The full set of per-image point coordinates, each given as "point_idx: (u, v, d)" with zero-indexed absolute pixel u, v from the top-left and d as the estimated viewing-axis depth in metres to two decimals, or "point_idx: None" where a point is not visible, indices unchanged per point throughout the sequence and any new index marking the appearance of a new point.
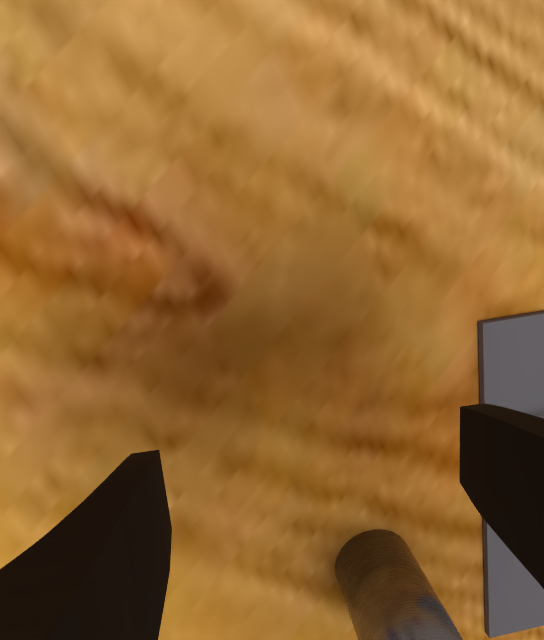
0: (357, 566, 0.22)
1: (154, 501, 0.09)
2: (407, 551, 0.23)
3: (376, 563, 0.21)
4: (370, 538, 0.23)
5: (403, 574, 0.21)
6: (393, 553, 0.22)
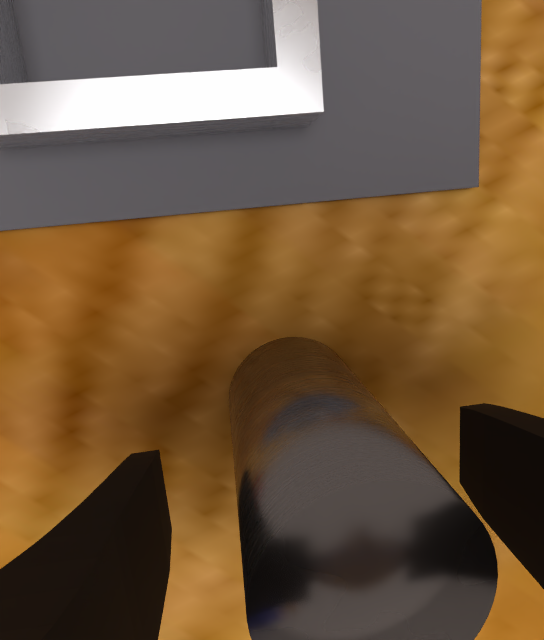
0: None
1: (154, 501, 0.09)
2: (246, 372, 0.13)
3: None
4: None
5: (233, 434, 0.12)
6: (232, 410, 0.13)
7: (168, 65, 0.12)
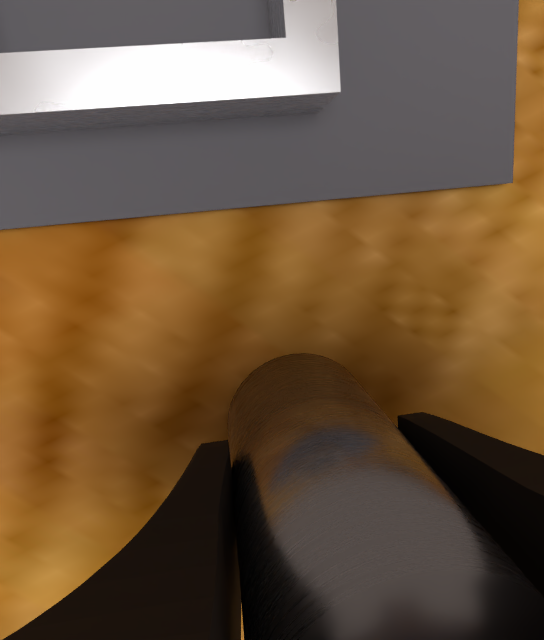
0: None
1: (231, 489, 0.09)
2: (248, 396, 0.12)
3: None
4: None
5: (233, 472, 0.10)
6: (231, 440, 0.11)
7: (156, 39, 0.10)
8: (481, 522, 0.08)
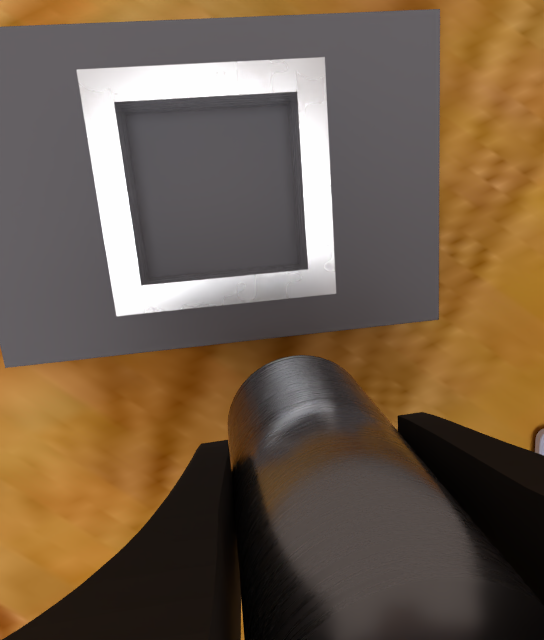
0: None
1: (231, 489, 0.09)
2: (248, 398, 0.12)
3: None
4: None
5: (233, 475, 0.10)
6: (231, 443, 0.11)
7: (235, 251, 0.18)
8: (481, 522, 0.08)
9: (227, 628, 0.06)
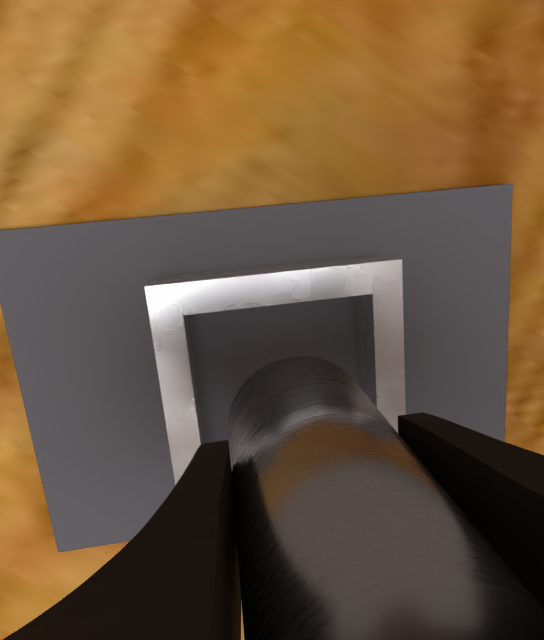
0: None
1: (231, 489, 0.09)
2: (248, 399, 0.12)
3: None
4: None
5: (233, 477, 0.10)
6: (231, 443, 0.11)
7: None
8: (481, 522, 0.08)
9: (227, 628, 0.06)
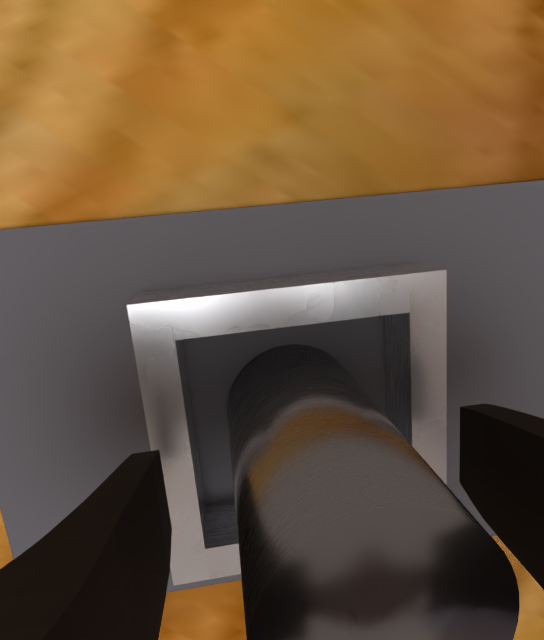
0: None
1: (154, 501, 0.09)
2: (245, 381, 0.13)
3: None
4: None
5: (232, 448, 0.11)
6: (230, 421, 0.12)
7: None
8: None
9: None
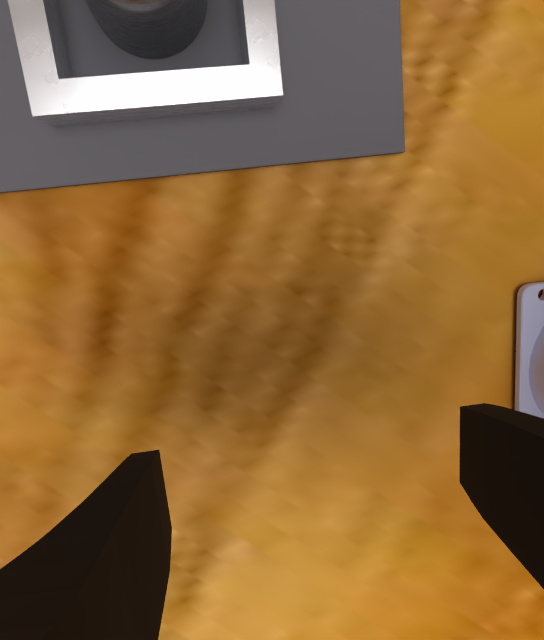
0: (96, 18, 0.14)
1: (154, 501, 0.09)
2: None
3: None
4: None
5: None
6: None
7: (172, 64, 0.17)
8: None
9: None
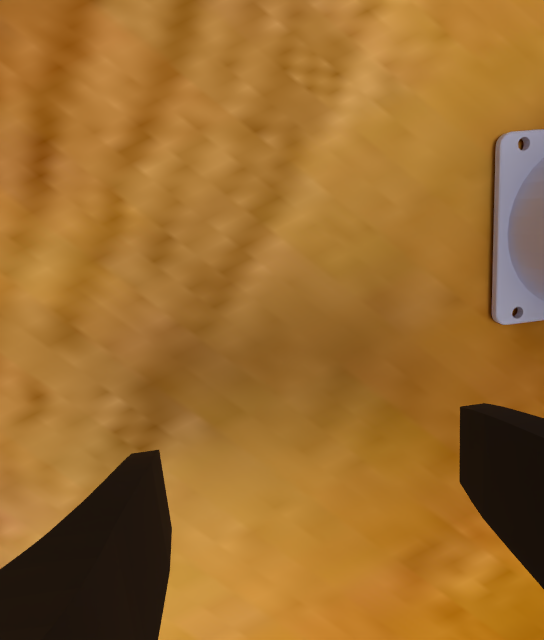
0: None
1: (154, 501, 0.09)
2: None
3: None
4: None
5: None
6: None
7: None
8: None
9: None
